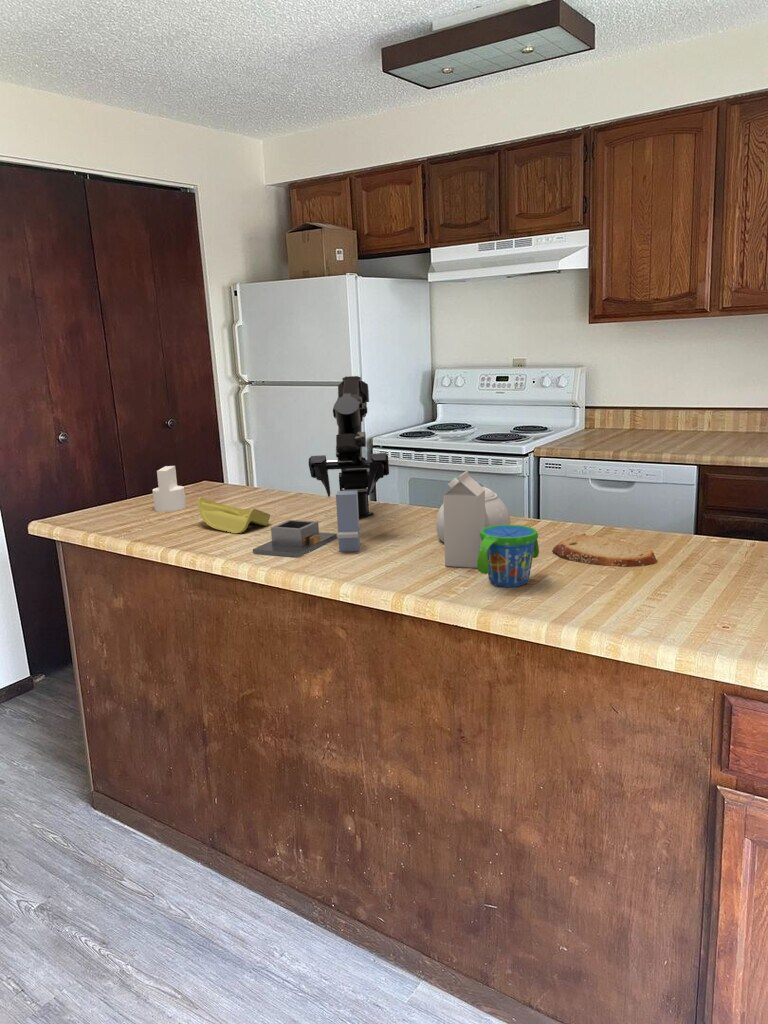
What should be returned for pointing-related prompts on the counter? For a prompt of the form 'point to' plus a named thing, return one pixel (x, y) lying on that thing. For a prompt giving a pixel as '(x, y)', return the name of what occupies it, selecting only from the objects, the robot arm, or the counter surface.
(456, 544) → the milk carton
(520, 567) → the snack cup
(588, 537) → the slice of bread
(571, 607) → the counter surface
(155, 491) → the cylinder with rectangular tab
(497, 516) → the teapot
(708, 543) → the counter surface
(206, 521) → the plastic component
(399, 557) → the counter surface
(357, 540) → the grey tall block
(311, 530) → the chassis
